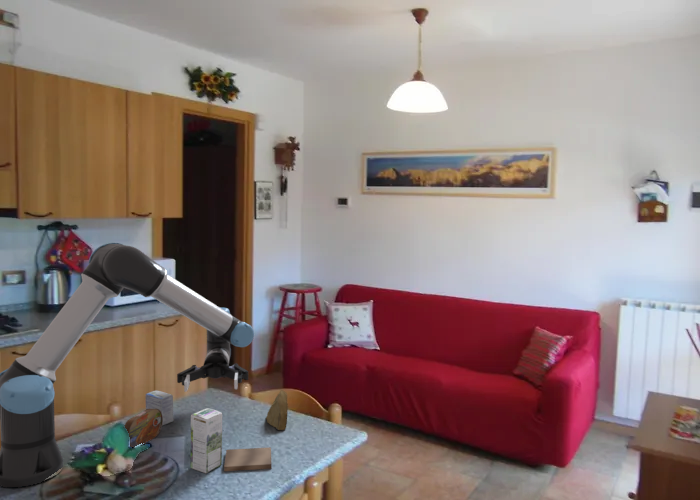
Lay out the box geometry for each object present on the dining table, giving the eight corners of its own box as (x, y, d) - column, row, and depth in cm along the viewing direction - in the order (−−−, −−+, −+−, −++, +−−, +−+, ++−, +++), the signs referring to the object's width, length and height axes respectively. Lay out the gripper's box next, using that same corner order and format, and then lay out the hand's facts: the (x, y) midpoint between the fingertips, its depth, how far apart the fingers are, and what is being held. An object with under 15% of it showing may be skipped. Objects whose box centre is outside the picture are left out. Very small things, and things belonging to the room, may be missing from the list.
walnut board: (224, 471, 142) (224, 466, 142) (226, 453, 152) (226, 449, 152) (271, 468, 144) (271, 464, 144) (270, 451, 154) (270, 447, 154)
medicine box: (173, 421, 174) (173, 394, 173) (162, 426, 170) (161, 398, 169) (157, 416, 178) (156, 389, 177) (145, 420, 174) (145, 393, 173)
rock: (294, 424, 167) (300, 408, 177) (276, 403, 166) (283, 388, 176) (266, 442, 169) (273, 425, 179) (249, 421, 168) (257, 405, 178)
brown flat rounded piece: (129, 453, 151) (129, 423, 150) (120, 451, 152) (119, 422, 151) (163, 432, 165) (163, 404, 165) (154, 430, 166) (154, 403, 166)
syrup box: (206, 460, 148) (206, 407, 147) (222, 465, 145) (222, 411, 144) (190, 468, 143) (189, 413, 142) (206, 474, 140) (206, 418, 139)
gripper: (256, 373, 178) (256, 396, 157) (175, 376, 174) (164, 400, 153) (256, 350, 177) (256, 370, 156) (175, 353, 173) (163, 374, 152)
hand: (210, 385), depth 155 cm, fingers open, 13 cm apart
